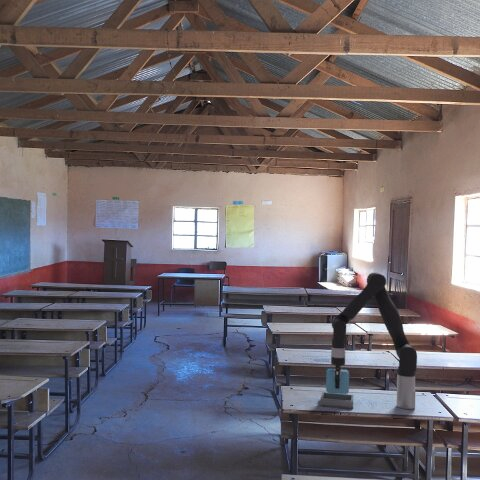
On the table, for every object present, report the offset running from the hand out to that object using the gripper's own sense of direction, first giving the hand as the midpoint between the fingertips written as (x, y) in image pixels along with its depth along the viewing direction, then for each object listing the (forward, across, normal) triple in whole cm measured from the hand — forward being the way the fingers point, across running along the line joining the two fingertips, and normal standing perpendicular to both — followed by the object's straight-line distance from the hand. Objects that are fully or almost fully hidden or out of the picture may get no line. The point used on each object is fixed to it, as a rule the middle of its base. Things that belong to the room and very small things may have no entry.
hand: (337, 386), depth 272 cm
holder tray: (+9, 0, 0) cm, 9 cm away
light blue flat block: (+3, 0, 0) cm, 3 cm away
